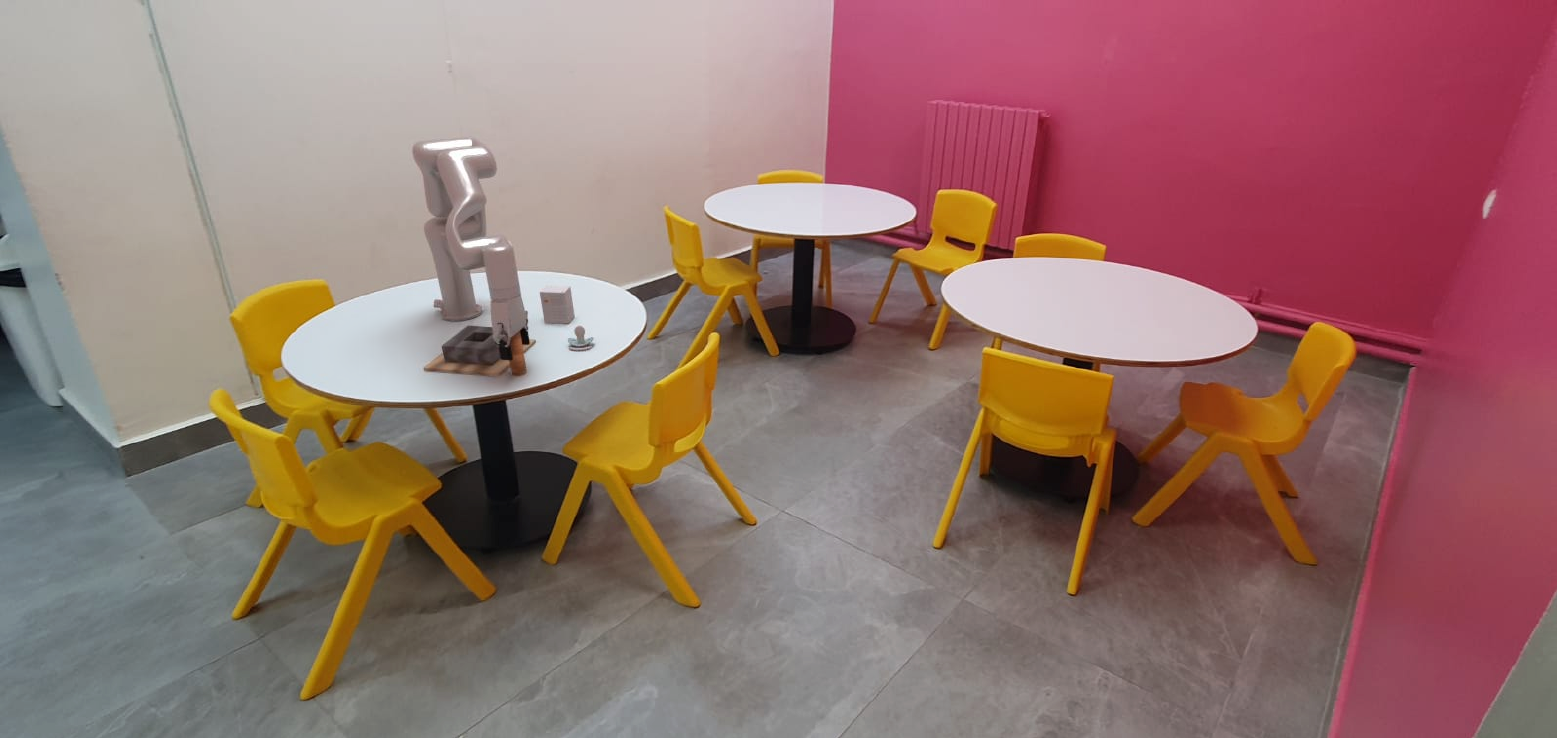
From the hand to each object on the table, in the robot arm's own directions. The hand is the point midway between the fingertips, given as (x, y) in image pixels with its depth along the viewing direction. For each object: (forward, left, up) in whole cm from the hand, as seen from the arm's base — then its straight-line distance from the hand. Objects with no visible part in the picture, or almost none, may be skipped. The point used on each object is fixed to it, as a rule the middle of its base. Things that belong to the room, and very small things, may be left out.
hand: (515, 351), depth 197 cm
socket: (-15, +8, -6) cm, 18 cm away
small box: (-4, +36, -7) cm, 37 cm away
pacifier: (+10, +18, -7) cm, 22 cm away
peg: (0, 0, -6) cm, 6 cm away
